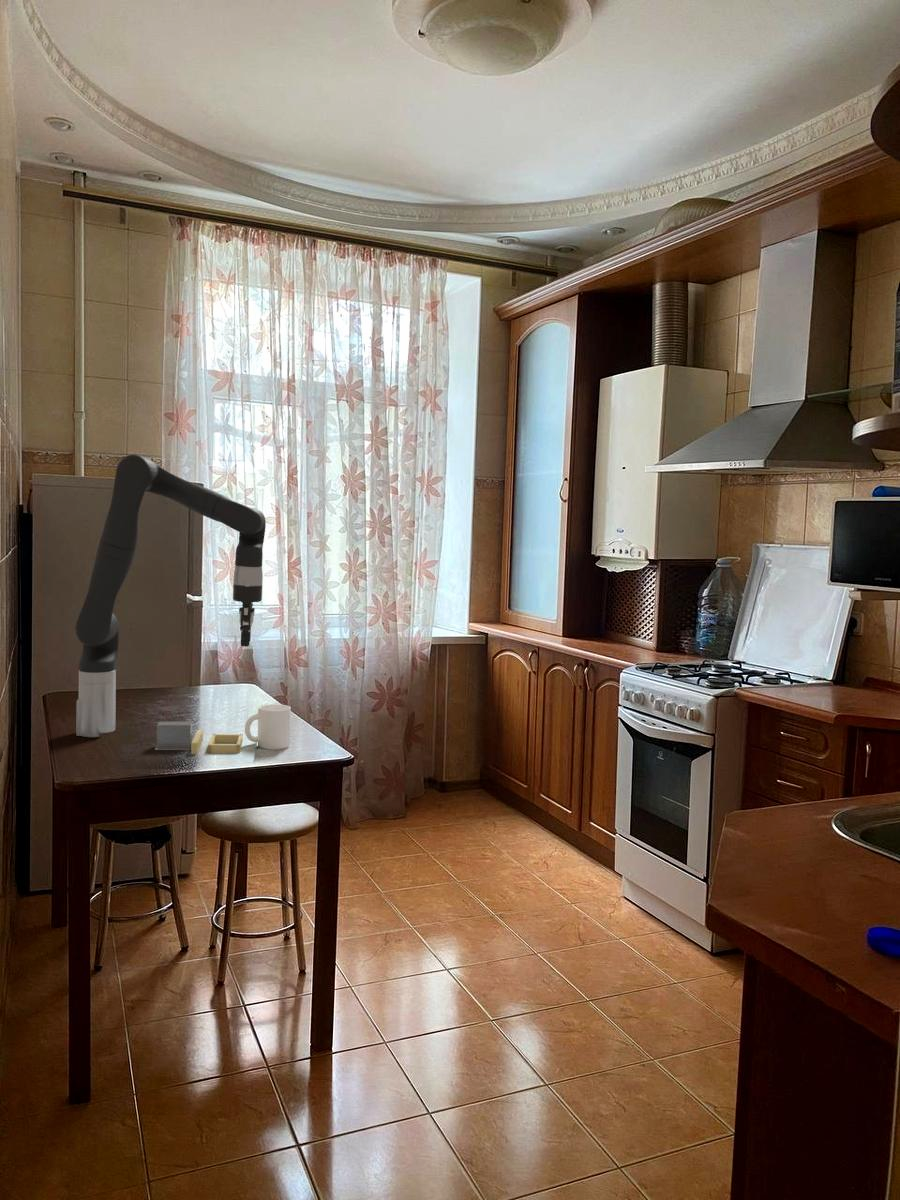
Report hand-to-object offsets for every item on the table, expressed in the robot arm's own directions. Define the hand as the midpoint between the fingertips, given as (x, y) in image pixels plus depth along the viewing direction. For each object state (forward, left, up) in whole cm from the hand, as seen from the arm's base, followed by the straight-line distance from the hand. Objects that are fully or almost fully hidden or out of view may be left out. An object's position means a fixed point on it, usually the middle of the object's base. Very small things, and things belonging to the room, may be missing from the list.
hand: (245, 643), depth 249 cm
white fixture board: (-10, -14, -25) cm, 31 cm away
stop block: (-16, -15, -24) cm, 33 cm away
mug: (+6, -10, -26) cm, 28 cm away
